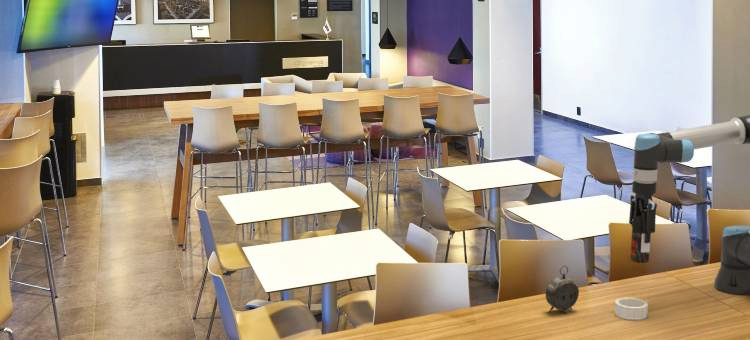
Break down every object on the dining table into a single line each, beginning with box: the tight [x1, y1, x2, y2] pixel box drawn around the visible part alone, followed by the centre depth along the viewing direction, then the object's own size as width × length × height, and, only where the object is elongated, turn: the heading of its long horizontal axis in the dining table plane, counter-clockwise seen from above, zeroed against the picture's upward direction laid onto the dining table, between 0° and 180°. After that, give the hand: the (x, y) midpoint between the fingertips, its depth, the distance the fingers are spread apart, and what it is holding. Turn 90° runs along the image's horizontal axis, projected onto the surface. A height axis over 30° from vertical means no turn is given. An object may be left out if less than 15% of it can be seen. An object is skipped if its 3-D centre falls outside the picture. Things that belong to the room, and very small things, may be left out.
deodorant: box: [630, 215, 650, 264], centre depth 292 cm, size 6×6×15 cm
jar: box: [614, 297, 649, 321], centre depth 293 cm, size 10×10×4 cm
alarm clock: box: [545, 265, 580, 315], centre depth 296 cm, size 11×5×16 cm, turn 112°
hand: (640, 249), depth 293 cm, fingers closed on deodorant, 6 cm apart
